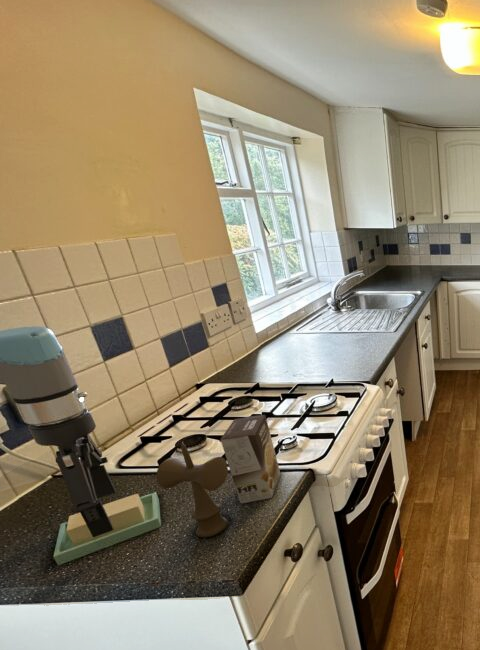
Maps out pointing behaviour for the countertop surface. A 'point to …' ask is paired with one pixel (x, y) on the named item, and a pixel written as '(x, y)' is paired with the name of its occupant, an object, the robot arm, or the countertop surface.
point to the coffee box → (251, 458)
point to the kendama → (198, 488)
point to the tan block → (119, 515)
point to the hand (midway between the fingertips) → (105, 512)
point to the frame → (69, 552)
